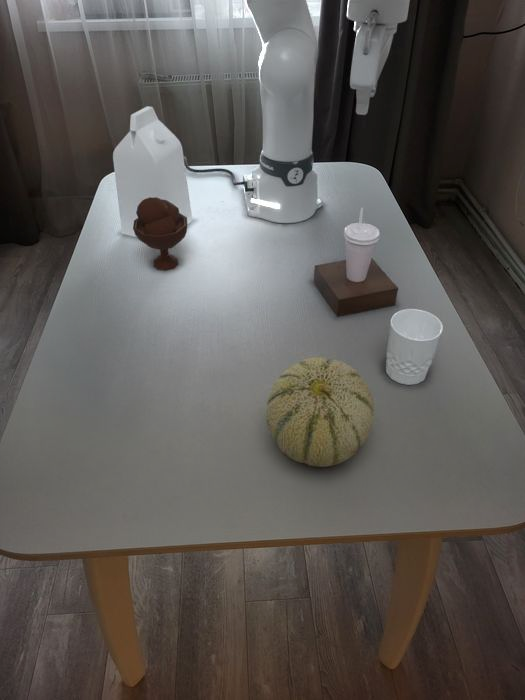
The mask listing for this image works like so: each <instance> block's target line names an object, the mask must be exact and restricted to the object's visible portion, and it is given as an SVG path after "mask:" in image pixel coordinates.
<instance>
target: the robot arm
mask: <svg viewBox="0 0 525 700" xmlns="http://www.w3.org/2000/svg"><path fill="white" fill-rule="evenodd" d="M244 1H245V5H246V8H247V9H248V11H249V13H250V14H251V17H252V19H253V22H254V24H255V27H256V30H257V32H258V35H259V37H260V41H261V44H262V51H261V52H260V55H259V60H258V76H259V77H258V80H259V94H260V103H261V114H262V147H261V149H262V150H261V153H260V155H259V164H258V166H256V167H255V168H254V169H253V170H252V171H251V173H244V174H242V181H236V177H235V174H234V172H233V171H231V170H230V169H226V168H221V167H220V168H219V167H218V168H217V167H216V168H206V169H205V168H204V169H194V168H191V167H190V166H189V164H188V161H187V157H186V156H183V157H184V164H185V169H187V170H188V171H189V172H192V173H211V172H225V173H227V174H229V175H230V176H231V179H232V184H233V186H243V189H242V192H243V197H244V202H245V206H246V211H247V215H248V216H249V217H252V218H258V219H263V220H265V221H268V222H271V223H278V224H295V223H300V222H304V221H306V220H309V219H310V218H311V217H313V216H314V214H315V213H316V211H317V210H318V209H320V208H321V207H322V206H323V201H322V200H321V199H320V198H318V174H317V172H315V171H314V170H313V168H314V152H313V149H312V148H313V133H314V132H313V131H314V117H315V116H314V99H315V97H314V96H315V94H314V93H315V75H316V68H317V62H318V58H319V42H318V39H317V35H316V31H315V26H314V24H313V23H314V22H313V20H312V16H311V12H310V9H309V6H308V1H307V0H244ZM410 2H411V0H348V1H347V10H346V18H347V19H348V20H350V21H353V22H354V25H353V31H354V32H355V33H356V36H355V41H354V45H353V46H354V47H353V51H352V60H351V69H350V76H349V86H350V87H349V88H350V89H352V90H356V91H355V94H356V95H355V97H356V106H355V113H356V115H361V116H366V115H367V114H368V112H369V108H370V98H373V97H375V95H376V92H377V86H378V80H379V78H380V76H381V73H382V71H383V69H384V66H385V64H386V61H387V59H388V57H389V53H390V50H391V47H392V42H393V39H394V34H396V33H397V30H398V24H401V23H404V22H406V21H407V20H408V16H409V9H410Z"/></svg>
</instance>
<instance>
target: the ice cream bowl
mask: <svg viewBox="0 0 525 700" xmlns="http://www.w3.org/2000/svg"><path fill="white" fill-rule="evenodd" d="M136 214H137V216H138V218H137V219H136V220H134V225H133V230H134V232H135V235H136V236H137V237H136V238H137V239H138V240H139V242H141V243H143V244H144V245H146V246H147V247H149V248H150V249H153V250H159V252H160V253H159V254H160V255H159V256H157V257H156V258H154V259H153V263H152V267H153V268H155V269H156V270H158V271H171V270H174V269H175V268H177V267H178V266H179V265H180V264H179V262H180V261H179V258H178V257H176V256H175V255H174V254H173V255H172V254H170V252H169V249H172V248H174V247H175V246H176V245H178V244H179V243H180V242H182V240H183V239H185V237H186V235H187V233H188V232H187V231H188V225H187V217H185V216H184V215H182V214H180V213H179V208H178V207H176V206H175V205H174V204H172V203H171V202H169V201H167V200H162V199H159V198H156V197H154V198H151V197H149V198H147V199H144V200H142V202H140V204H139V205H138V207H137V211H136Z"/></svg>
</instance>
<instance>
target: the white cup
mask: <svg viewBox="0 0 525 700" xmlns="http://www.w3.org/2000/svg"><path fill="white" fill-rule="evenodd" d="M443 330H444V326H443V323H442V321H441V319H439V318H438V317H437V316H436V315H435V314H433V313H431V312H428V311H427V310H424V309H418V308H405V309H401V310H399V311H397V312H395V313H394V314H393V315H392V316H391V318H390V322H389V331H388V339H387V345H386V357H385V358H386V360H385V372H386V375H387V376H388V377H389V378H390V379H391V380H393V381H394V382H396V383H398V384H400V385H407V386H413V385H419V384H420V383H422V382H423V381H425V379H426V377H427V375H428V373H429V369H430V367H431V365H432V363H433V360H434V357H435V355H436V352H437V348H438V345H439V343H440V340H441V336H442V333H443Z"/></svg>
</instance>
